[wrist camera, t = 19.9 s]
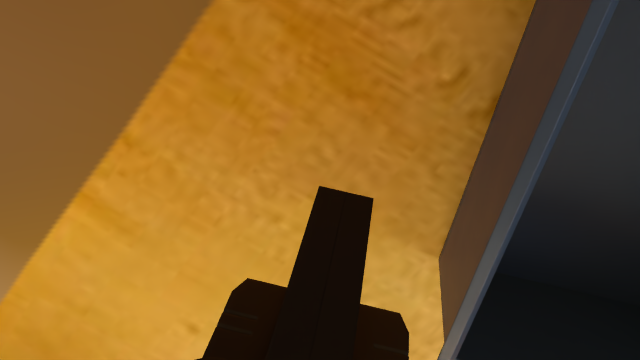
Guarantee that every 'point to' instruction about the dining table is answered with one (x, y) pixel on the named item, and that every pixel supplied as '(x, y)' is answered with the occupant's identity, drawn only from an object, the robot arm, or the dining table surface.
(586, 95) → the carton
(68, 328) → the dining table surface
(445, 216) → the dining table surface
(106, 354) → the dining table surface
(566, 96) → the flap
